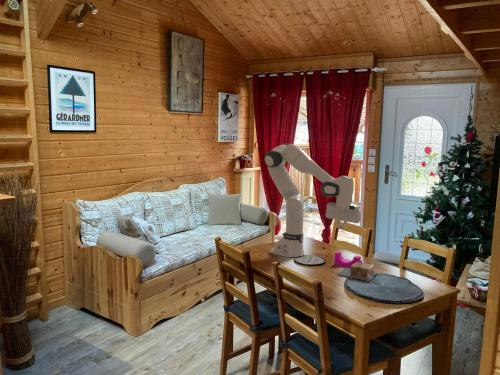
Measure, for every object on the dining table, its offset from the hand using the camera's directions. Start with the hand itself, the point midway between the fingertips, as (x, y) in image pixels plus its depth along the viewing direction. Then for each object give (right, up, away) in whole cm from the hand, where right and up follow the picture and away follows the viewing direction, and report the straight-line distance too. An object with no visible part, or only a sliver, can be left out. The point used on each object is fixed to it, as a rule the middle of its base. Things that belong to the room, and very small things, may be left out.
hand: (341, 228), depth 237 cm
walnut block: (+6, -22, -5) cm, 23 cm away
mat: (+8, -26, -6) cm, 27 cm away
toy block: (+6, -24, +9) cm, 26 cm away
